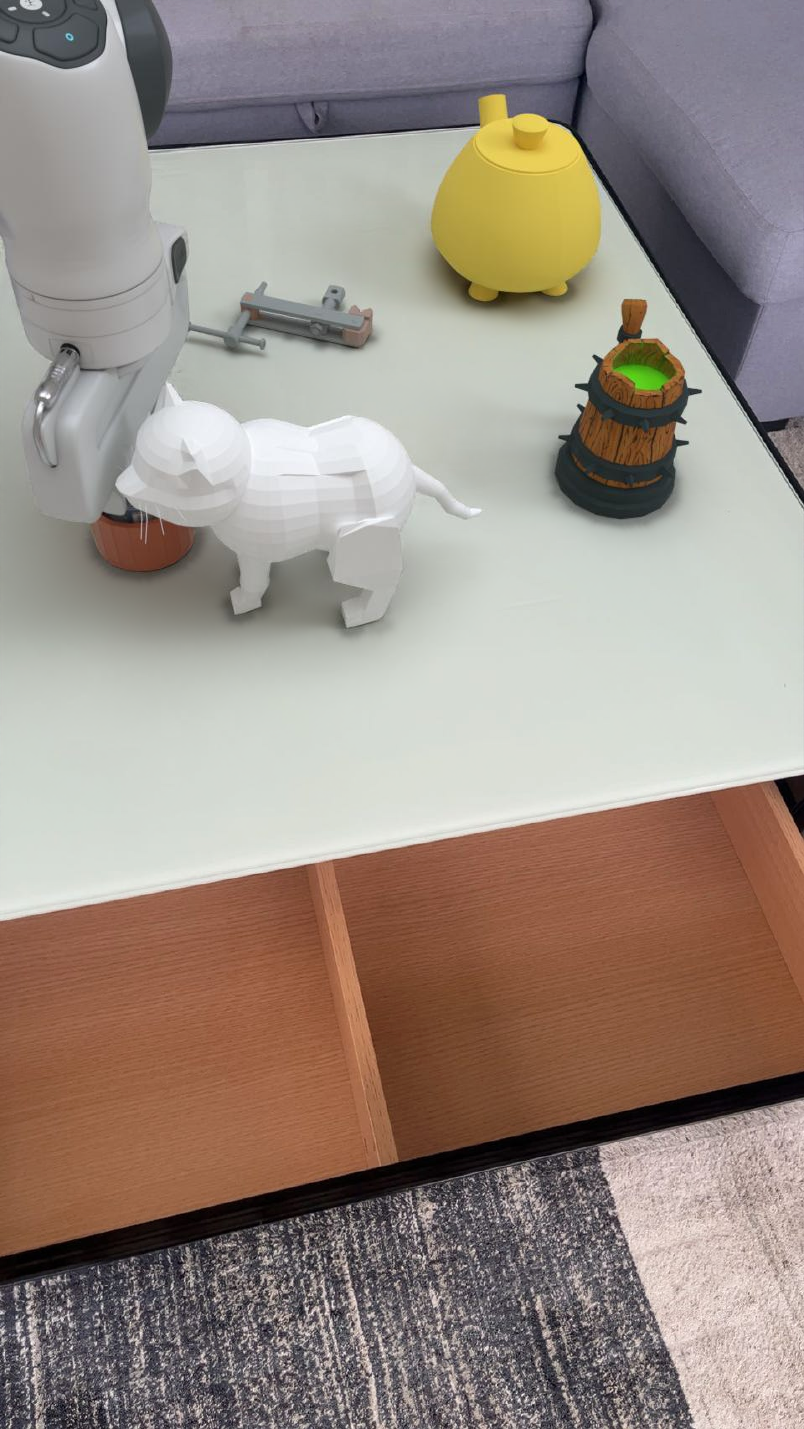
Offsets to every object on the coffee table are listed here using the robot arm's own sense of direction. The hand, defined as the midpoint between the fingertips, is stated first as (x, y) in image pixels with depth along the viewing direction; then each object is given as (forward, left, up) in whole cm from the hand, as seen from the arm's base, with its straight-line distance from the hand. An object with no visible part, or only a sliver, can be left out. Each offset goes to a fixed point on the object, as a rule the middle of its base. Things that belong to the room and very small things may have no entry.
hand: (132, 474), depth 75 cm
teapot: (+22, +43, -6) cm, 48 cm away
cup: (0, 0, -6) cm, 6 cm away
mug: (+34, +16, -6) cm, 38 cm away
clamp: (+4, +27, -6) cm, 28 cm away
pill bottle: (0, 0, -4) cm, 4 cm away
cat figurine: (+13, -2, -6) cm, 15 cm away
